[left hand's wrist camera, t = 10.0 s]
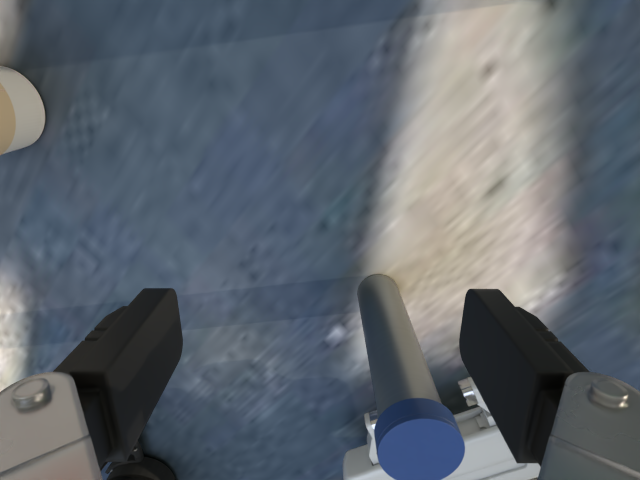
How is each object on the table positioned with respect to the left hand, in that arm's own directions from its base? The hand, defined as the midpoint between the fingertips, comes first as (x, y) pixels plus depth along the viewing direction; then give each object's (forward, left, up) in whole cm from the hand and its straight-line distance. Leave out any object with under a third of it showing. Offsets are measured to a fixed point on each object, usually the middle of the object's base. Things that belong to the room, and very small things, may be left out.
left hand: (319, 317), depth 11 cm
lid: (-9, +11, -8) cm, 17 cm away
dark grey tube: (-9, +11, -27) cm, 31 cm away
